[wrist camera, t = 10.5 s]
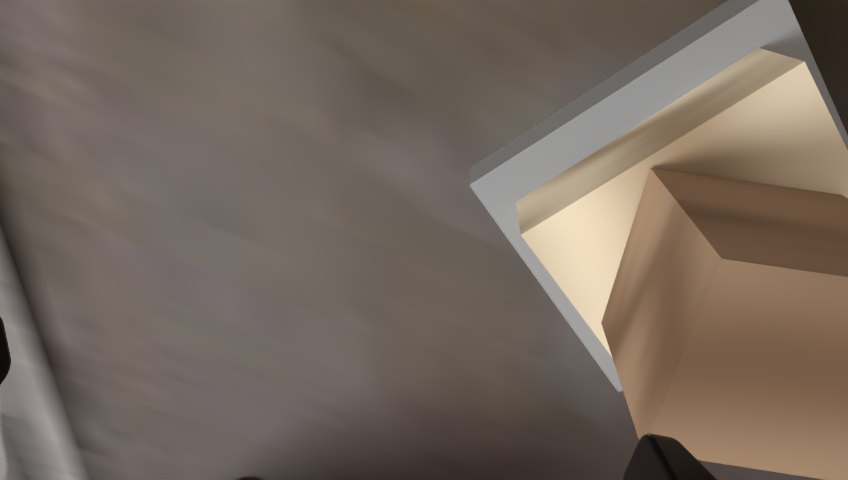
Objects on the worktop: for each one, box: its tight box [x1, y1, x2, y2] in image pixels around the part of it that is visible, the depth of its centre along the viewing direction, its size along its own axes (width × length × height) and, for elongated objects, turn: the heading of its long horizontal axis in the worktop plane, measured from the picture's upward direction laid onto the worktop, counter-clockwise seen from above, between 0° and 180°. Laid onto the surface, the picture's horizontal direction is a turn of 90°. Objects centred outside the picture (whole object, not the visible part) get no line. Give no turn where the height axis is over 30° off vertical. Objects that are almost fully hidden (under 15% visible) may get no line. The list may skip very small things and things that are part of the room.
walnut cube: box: [601, 168, 848, 480], centre depth 14 cm, size 5×5×5 cm
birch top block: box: [516, 48, 848, 357], centre depth 17 cm, size 8×8×2 cm
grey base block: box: [469, 0, 848, 392], centre depth 19 cm, size 10×10×2 cm
